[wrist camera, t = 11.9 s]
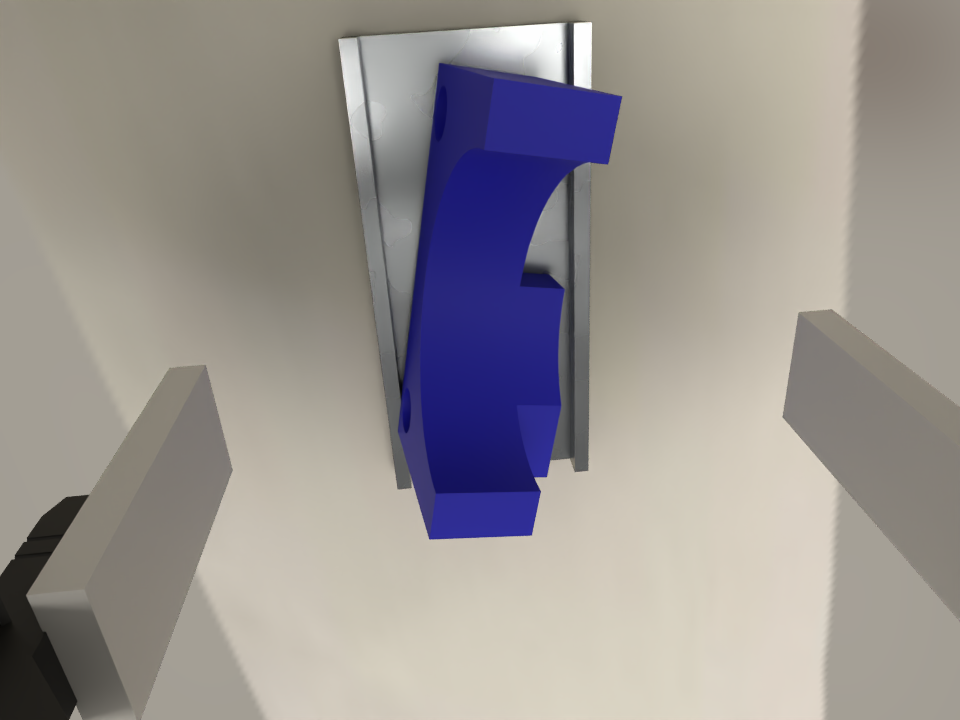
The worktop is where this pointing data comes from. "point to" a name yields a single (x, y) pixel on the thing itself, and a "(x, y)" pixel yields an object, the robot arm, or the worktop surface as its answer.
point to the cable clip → (490, 297)
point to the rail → (402, 178)
